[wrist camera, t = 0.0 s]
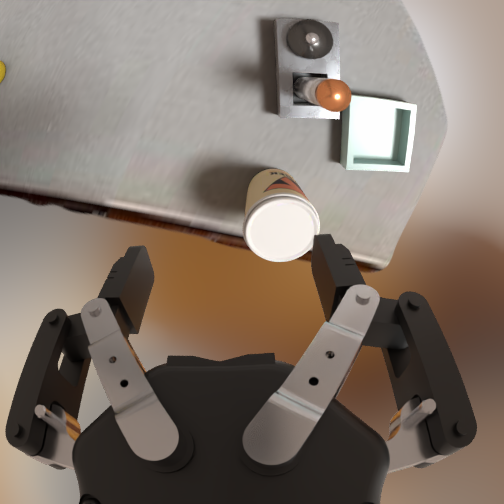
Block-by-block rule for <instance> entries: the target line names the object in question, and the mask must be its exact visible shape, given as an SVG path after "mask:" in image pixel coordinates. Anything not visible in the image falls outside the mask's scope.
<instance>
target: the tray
mask: <svg viewBox="0 0 504 504" xmlns="http://www.w3.org/2000/svg"><path fill="white" fill-rule="evenodd" d="M351 96H352V97H351V102H350V104H349V106H348V107H347V108H346V109H345V110H343V111H342V136H341V153H340V164H341V165H342V166H343V167H344V168H345V169H346V170H375V171H397V172H409V167H410V161H411V154H412V147H413V139H414V130H415V120H416V108H417V105H415V104H411V103H408V102H403V101H398V100H392V99H385V98H378V97H371V96H362V95H353V94H351Z"/></svg>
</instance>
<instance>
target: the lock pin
mask: <svg viewBox="0 0 504 504" xmlns="http://www.w3.org/2000/svg"><path fill="white" fill-rule="evenodd" d="M293 89H294V92H295V94H296V95H297V96H298V97H299V98H301V99H303V100H306V101H308V102H310V103H313V104H315V105H317V106H320V107H322V108H324V109H326V110H328V111H331V112H340V111H343V110H345V109H346V108H347V107H348V106H349V104H350V102H351V97H352V96H351V91H350V89H349V87H348V86H347V84H346V83H344V82H343V81H341V80H338V79H329V78H316V77H301V78H299V79H297V80H296V81H295V83H294V86H293Z"/></svg>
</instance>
